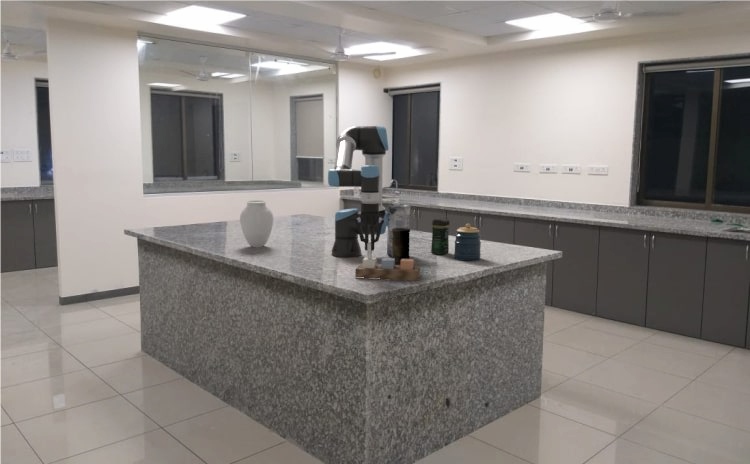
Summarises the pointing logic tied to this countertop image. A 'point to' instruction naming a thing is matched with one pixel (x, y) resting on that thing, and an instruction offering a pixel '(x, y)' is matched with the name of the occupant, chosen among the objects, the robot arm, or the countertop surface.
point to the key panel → (388, 273)
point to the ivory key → (369, 263)
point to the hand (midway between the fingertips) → (369, 258)
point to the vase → (256, 223)
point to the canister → (467, 243)
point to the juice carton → (397, 221)
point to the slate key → (388, 263)
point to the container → (400, 244)
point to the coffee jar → (440, 236)
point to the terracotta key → (407, 264)
